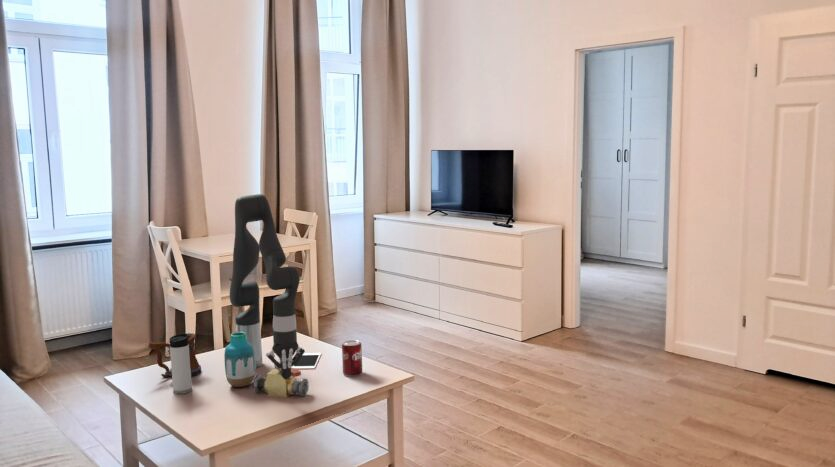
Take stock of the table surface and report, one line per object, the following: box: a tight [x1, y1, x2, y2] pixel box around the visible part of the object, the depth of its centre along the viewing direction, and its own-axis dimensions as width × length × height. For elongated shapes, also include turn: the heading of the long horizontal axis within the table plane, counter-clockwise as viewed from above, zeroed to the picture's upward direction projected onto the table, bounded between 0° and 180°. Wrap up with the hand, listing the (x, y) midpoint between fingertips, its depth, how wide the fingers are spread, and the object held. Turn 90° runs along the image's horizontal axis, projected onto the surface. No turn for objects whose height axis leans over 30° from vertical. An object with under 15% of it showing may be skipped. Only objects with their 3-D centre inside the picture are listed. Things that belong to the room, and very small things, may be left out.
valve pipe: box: [252, 367, 309, 399], centre depth 228 cm, size 18×6×9 cm, turn 74°
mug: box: [148, 332, 202, 378], centre depth 249 cm, size 18×12×15 cm, turn 121°
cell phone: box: [291, 352, 322, 371], centre depth 262 cm, size 9×18×1 cm, turn 0°
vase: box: [223, 332, 256, 388], centre depth 236 cm, size 11×11×19 cm
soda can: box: [341, 339, 363, 378], centre depth 246 cm, size 7×7×12 cm
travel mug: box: [169, 333, 193, 395], centre depth 233 cm, size 6×7×20 cm
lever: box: [273, 360, 302, 378], centre depth 224 cm, size 14×4×2 cm, turn 40°
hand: (286, 378), depth 218 cm, fingers closed
